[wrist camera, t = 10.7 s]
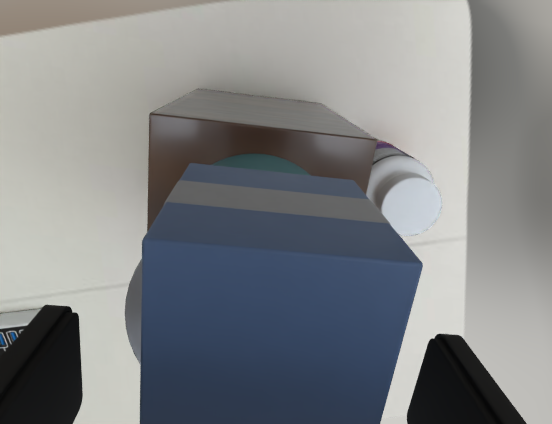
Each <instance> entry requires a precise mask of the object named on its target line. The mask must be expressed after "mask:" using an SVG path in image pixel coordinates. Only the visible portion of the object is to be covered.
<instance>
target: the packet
mask: <svg viewBox="0 0 552 424" xmlns="http://www.w3.org/2000/svg"><path fill="white" fill-rule="evenodd" d="M422 267H423V265H422V262H421V261H420V260H419V259H418V257H417V256H416V255H415V254H414V253H413V251H412V250H411V249H410V248H409V247H408V245H407V244H406V243H405V242H404V241H403V239H402V238H401V237H400V236H399V234H398V233H397V232H396V231H395V230H394V228H393V227H392V226H391V225H390V222H389V221H388V220H387V219H386V218H385V216H384V215H383V214H382V213H381V212H380V210H379V209H378V208H377V207H376V206H375V204H374V203H373V202H372V201H371V200H370V199H369V198H368V197H367V196H366V195H365V193H364V192H363V191H362V190H361V189H360V187H359V186H358V185H357V184H356V183H355V181H353V180H347V179H338V178H328V177H319V176H309V175H300V174H291V173H281V172H272V171H262V170H253V169H243V168H234V167H225V166H215V165H206V164H196V163H190V164H189V166H188V167H187V169H186V170H185V172H184V174H183V175H182V177H181V178H180V180H179V181H178V182H177V184H176V185H175V187H174V188H173V190H172V192H171V193H170V195H169V196H168V198H167V200H166V201H165V203H164V206H163V208H162V209H161V211H160V212H159V214H158V216H157V217H156V219H155V221H154V222H153V224H152V225H151V227H150V229H149V230H148V232H147V233H146V235H145V237H144V238H143V240H142V298H141V378H140V424H380V421H381V418H382V414H383V411H384V407H385V403H386V400H387V396H388V392H389V389H390V385H391V381H392V377H393V374H394V370H395V366H396V363H397V359H398V355H399V352H400V348H401V344H402V341H403V337H404V333H405V330H406V326H407V322H408V319H409V315H410V311H411V308H412V304H413V300H414V297H415V293H416V289H417V286H418V282H419V278H420V275H421V271H422Z"/></svg>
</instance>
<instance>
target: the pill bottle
mask: <svg viewBox="0 0 552 424" xmlns="http://www.w3.org/2000/svg"><path fill="white" fill-rule="evenodd" d="M366 196H367V197H368V198H369V199H370V200H371V201H372V202H373V203H374V204H375V206H376V207H377V208H378V209H379V210H380V212H381V213H382V214H383V215H384V216H385V218H386V219H387V220H388V221H389V222H390V225H391V226H392V227H393V228H394V230H395V231H396V232H397V233H398V234H399V235H404V236H412V235H417V234H420V233H422V232H424V231H426V230H428V229H429V228H430V227H431V226H432V225H433V224H434V223H435V222H436V220H437V219H438V217H439V215H440V213H441V209H442V197H441V194H440V191H439V190H438V188H437V187H436V186H435V184H434V180H433V177H432V175H431V173H430V171H429V170H428V169H427V167H426V166H425V165H424V164H422V163H421V162H420V161H418V160H416V159H415V158H413V157H411V156H409V155H408V154H406V153H404V152H403V151H401V150H399V149H398V148H396V147H394V146H393V145H391V144H389V143H387V142H384V141H379V140H377V145H376V150H375V155H374V159H373V164H372V169H371V174H370V179H369V184H368V189H367V193H366Z"/></svg>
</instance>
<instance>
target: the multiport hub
mask: <svg viewBox="0 0 552 424" xmlns="http://www.w3.org/2000/svg"><path fill="white" fill-rule="evenodd" d="M40 310H41V309H34V310H26V311H17V312H9V313H1V314H0V357H1V356H2V354H3V353H4V352H5V351H6V350H7V349H8V347H9V346H10V345H11V344H12V343H13V341H14V340H15V339H16V338H17V337H18V336H19V334H20V333H21V332H22V331H23V330H24V329H25V327H26V326H27V325H28V324H29V323H30V322H31V320H32V319H33V318H34V317H35V316H36V314H37V313H38V312H39V311H40Z"/></svg>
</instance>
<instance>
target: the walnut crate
mask: <svg viewBox="0 0 552 424" xmlns="http://www.w3.org/2000/svg"><path fill="white" fill-rule="evenodd" d="M376 145H377V139H375V138H374V137H372V136H371V135H369V134H368V133H366V132H364V131H363V130H361V129H360V128H358V127H357V126H355V125H354V124H352V123H351V122H349V121H348V120H346V119H344V118H343V117H341V116H340V115H338V114H337V113H335V112H334V111H332V110H331V109H329V108H327V107H326V106H324V105H323V104H321V103H313V102H304V101H296V100H288V99H280V98H272V97H264V96H255V95H247V94H239V93H231V92H223V91H215V90H206V89H196V90H194V91H192V92H190V93H189V94H187V95H185V96H183V97H181V98H179V99H177V100H175V101H173V102H171V103H169V104H167V105H165V106H163V107H161V108H159V109H157V110H156V111H154V112H152V113H150V114H149V165H148V224H147V232H148V230H149V229H150V227H151V225H152V224H153V222H154V221H155V219H156V217H157V216H158V214H159V212H160V211H161V209H162V208H163V206H164V203H165V201H166V200H167V198H168V196H169V195H170V193H171V192H172V190H173V188H174V187H175V185H176V184H177V182H178V181H179V180H180V178H181V177H182V175H183V174H184V172H185V170H186V169H187V167H188V166H189V164H190V163H196V164H206V165H212V164H214V163H216V162H218V161H220V160H223V159H225V158H228V157H232V156H236V155H241V154H266V155H272V156H276V157H279V158H283V159H286V160H288V161H290V162H292V163H294V164H296V165H297V166H299V167H301V168H302V169H304V170H305V171H306V172H307V173H309V174H310V175H311V176H319V177H328V178H338V179H347V180H353V181H355V183H356V184H357V185H358V186H359V187H360V189H361V190H362V191H363V192H364V193H365V195H366V193H367V189H368V184H369V179H370V174H371V169H372V164H373V159H374V155H375V150H376Z"/></svg>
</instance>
